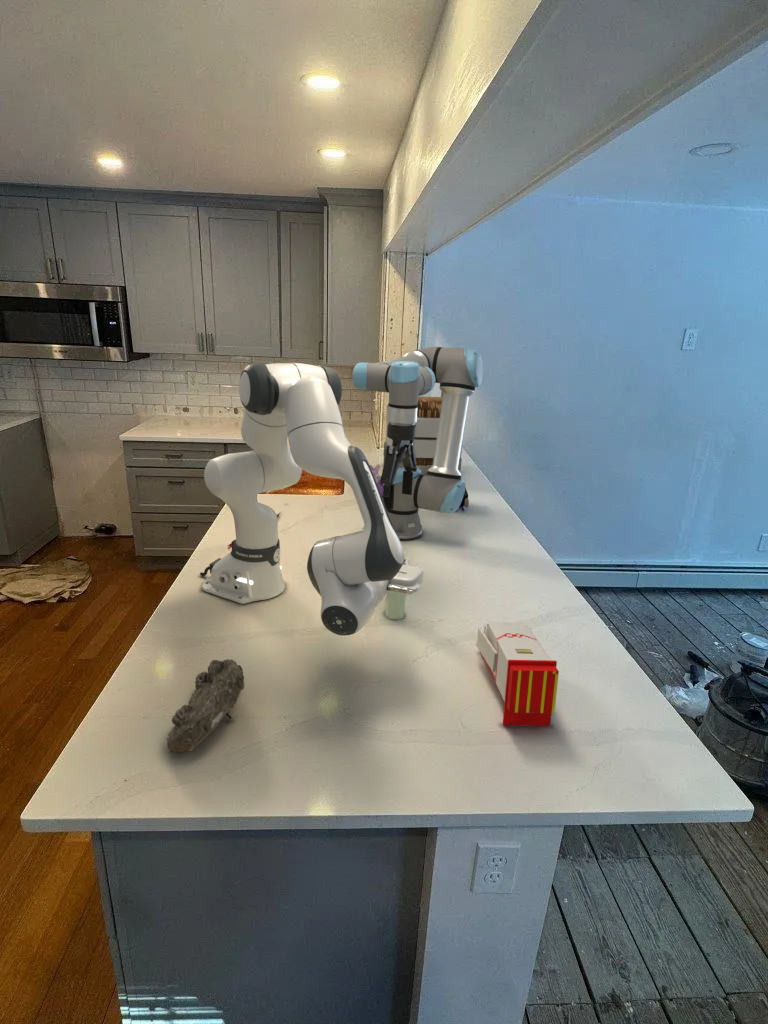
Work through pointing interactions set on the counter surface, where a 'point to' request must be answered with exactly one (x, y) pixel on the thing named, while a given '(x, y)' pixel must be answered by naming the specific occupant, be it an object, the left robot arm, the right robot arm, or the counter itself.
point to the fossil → (206, 705)
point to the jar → (395, 605)
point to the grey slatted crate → (424, 431)
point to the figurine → (378, 478)
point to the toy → (520, 672)
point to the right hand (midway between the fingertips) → (397, 500)
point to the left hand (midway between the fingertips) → (385, 559)
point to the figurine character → (464, 500)
